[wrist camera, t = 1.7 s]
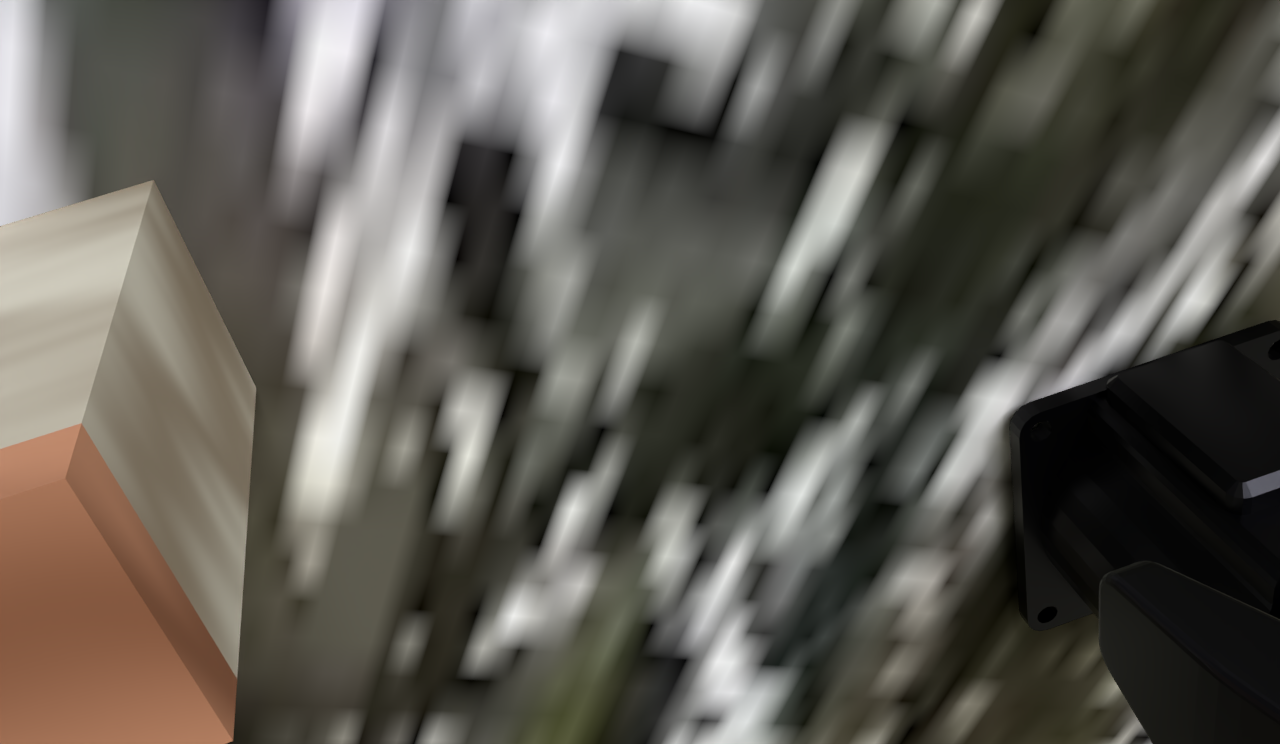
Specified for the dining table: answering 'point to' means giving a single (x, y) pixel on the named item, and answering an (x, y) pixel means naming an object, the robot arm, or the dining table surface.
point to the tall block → (118, 482)
